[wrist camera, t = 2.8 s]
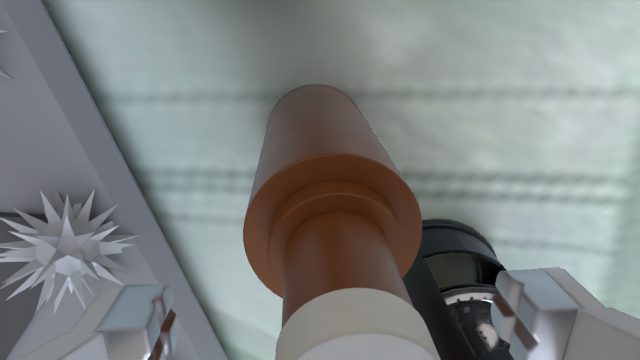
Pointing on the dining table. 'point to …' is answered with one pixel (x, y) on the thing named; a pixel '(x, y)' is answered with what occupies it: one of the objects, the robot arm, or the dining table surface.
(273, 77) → the dining table surface
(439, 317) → the french press
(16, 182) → the decorative plate
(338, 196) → the bottle
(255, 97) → the dining table surface
